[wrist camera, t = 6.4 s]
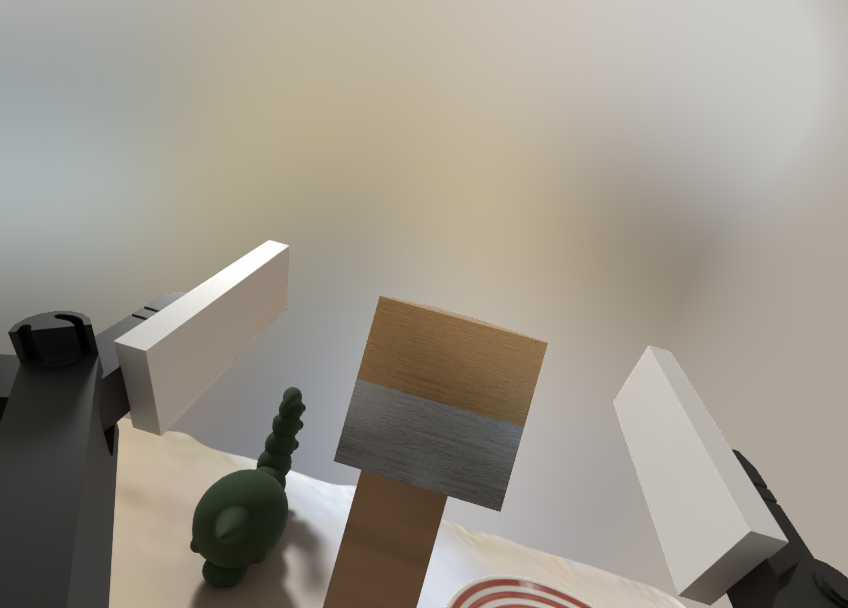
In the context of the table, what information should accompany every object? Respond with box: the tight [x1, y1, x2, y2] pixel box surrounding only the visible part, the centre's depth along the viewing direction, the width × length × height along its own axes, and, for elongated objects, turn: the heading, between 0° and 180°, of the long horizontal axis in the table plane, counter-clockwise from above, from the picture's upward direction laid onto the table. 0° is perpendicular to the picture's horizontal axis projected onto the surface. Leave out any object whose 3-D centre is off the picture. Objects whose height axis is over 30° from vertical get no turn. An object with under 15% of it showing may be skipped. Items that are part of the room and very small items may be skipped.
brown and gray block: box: [334, 296, 548, 511], centre depth 20 cm, size 22×4×4 cm, turn 177°
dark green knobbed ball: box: [190, 387, 306, 587], centre depth 48 cm, size 9×19×25 cm
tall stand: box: [323, 470, 448, 608], centre depth 25 cm, size 16×12×30 cm
